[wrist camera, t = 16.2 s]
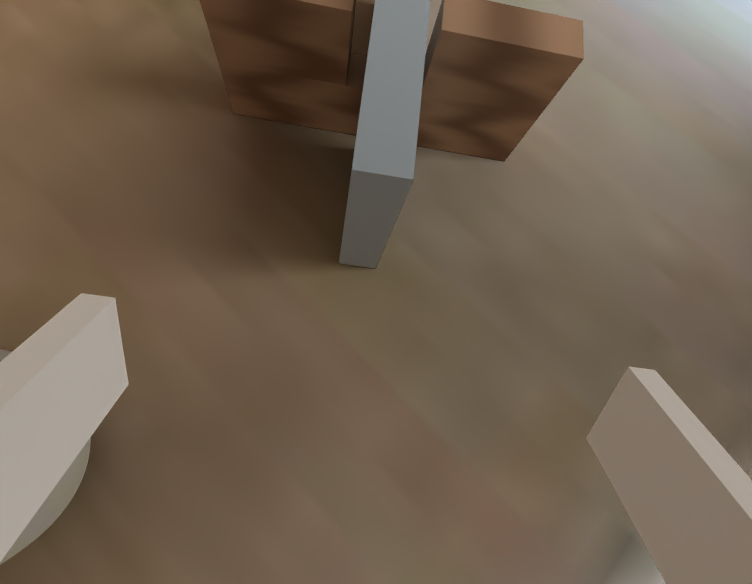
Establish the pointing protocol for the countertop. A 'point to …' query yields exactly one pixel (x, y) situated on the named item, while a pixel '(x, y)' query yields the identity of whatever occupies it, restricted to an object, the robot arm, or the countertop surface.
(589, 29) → the countertop surface
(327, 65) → the walnut board
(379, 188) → the slate plate
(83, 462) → the teacup
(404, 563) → the countertop surface
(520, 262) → the countertop surface
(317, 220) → the countertop surface
